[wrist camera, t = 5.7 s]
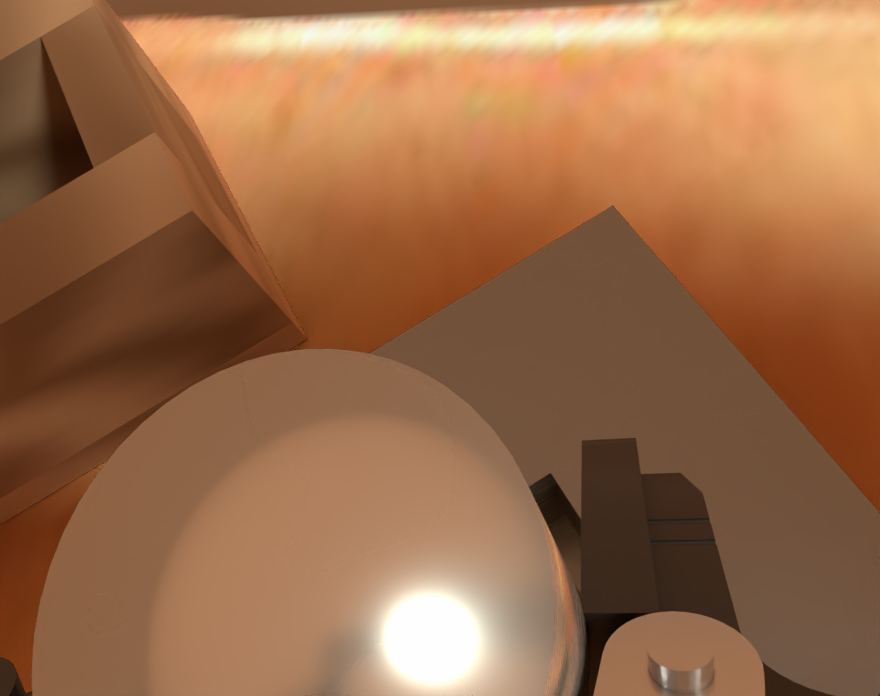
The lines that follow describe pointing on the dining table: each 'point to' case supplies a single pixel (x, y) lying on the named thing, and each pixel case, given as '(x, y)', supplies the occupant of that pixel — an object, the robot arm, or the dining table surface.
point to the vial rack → (109, 249)
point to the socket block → (667, 436)
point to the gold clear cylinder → (310, 548)
